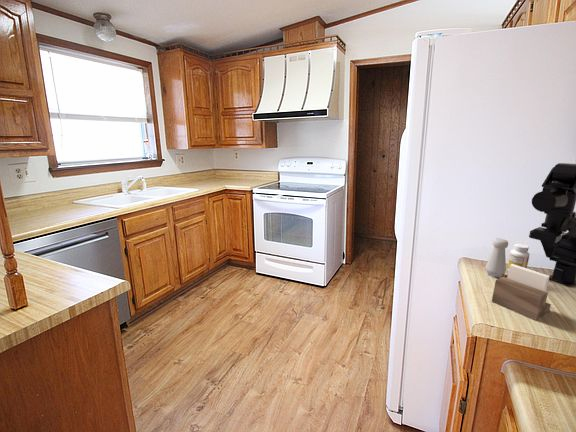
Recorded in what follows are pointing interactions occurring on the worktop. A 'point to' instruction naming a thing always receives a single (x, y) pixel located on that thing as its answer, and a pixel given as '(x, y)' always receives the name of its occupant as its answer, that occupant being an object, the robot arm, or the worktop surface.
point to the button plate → (528, 277)
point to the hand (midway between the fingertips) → (548, 257)
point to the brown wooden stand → (520, 298)
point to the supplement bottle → (519, 256)
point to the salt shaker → (497, 259)
